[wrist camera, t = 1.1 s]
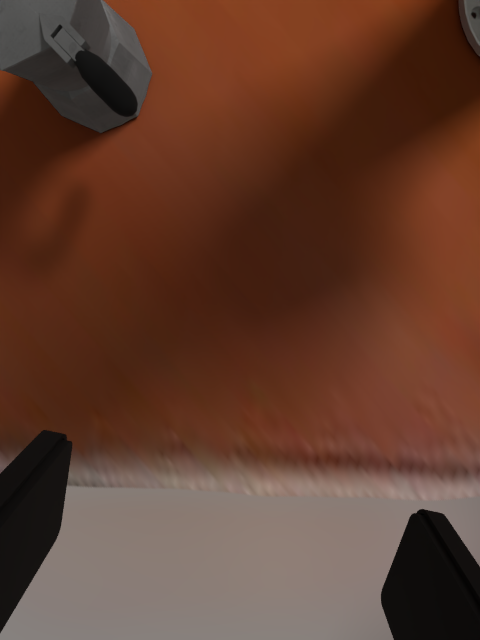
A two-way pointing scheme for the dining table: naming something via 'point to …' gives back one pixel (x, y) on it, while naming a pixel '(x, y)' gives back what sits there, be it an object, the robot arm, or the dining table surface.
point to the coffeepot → (76, 58)
